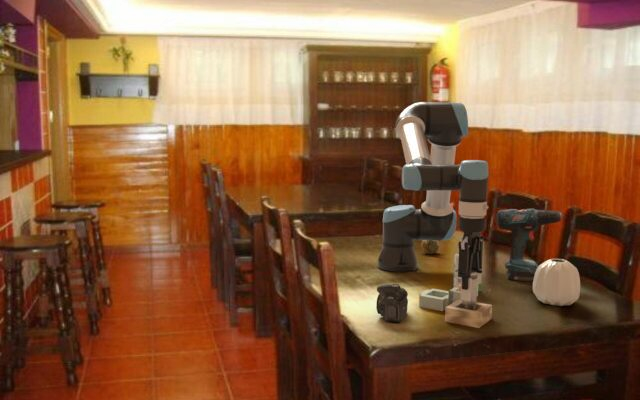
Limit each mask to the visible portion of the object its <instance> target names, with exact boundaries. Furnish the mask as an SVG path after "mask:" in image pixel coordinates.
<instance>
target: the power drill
mask: <svg viewBox="0 0 640 400" xmlns="http://www.w3.org/2000/svg"><path fill="white" fill-rule="evenodd" d="M564 217H566V216H565V215H564V214H562V212H560V211H558V210H547V209H535V208H526V209H525V208H523V209H520V210H519V209H517V208H509V209H500V210H497V213H496V225H497V226H498V227H497V228H498V229H500V230H505V231H510V232H511V233H512V240H511V245H510V254H509V255H510V256H509V261H507V262H505V263H504V267H505V269H506V272H505V275H506V278H507V280H509V281H511V280H513V281H527V282H529V281H531V282H533V280H534V276H535V272H536V270H537V268H538V266H539V265H538V263H537V262H535V260H532V259H526V258H524V254H525V250H526V245H527V243H528V241H529V240H530V241H531V240H534V239H535V237H534V232H536V231H538V229H539V226H545V225H546V226H547V225H550V224H556V223H559V222H561V221H562V219H563V218H564Z"/></svg>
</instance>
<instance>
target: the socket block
mask: <svg viewBox="0 0 640 400" xmlns="http://www.w3.org/2000/svg"><path fill="white" fill-rule="evenodd" d="M418 296H419V297H418V298H419V299H418V306H419V308H422V309H423V308H424V309H428V310H429V309H430V310H434V311H441V312H443V311H444V312H445V307H447V306H449V305H450V304H452V303H453V302H455V301H457V300H458V299H461V292H460V291H458V286H456V287H453V288H451V289H449V290H443V289H437V288H431V289H425V290H424V291H421V292H420V293H418Z"/></svg>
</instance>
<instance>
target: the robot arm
mask: <svg viewBox="0 0 640 400" xmlns="http://www.w3.org/2000/svg"><path fill="white" fill-rule="evenodd" d="M468 117H469V116H468V112H467V109H466V106H465V105H464V104H463V103H462V102H454V101H453V102H452V101H450V102H447V101H446V102H445V101H443V102H441V101H439V102H438V101H436V102H434V101H432V102H431V101H430V102H429V101H428V102H427V101H418V102H415V103H412V104H410V105H408V106H407V107H405V108H404V109H403V110H402V111H401V112H400V114H399V115H398V117H397V119H396V121H395V132H396V136H398V138H399V139H400V140H401V142H400V143H401V145H402V151H403V155H404V159H405V164H404V165H403V166H402V170H401V185H402V188H403V189H404V190H405V191H415V192H419V191H426V199H425V201H424V202H422V203H421V205H420V206H421V207H420V208H418V209H417V208H416V207H415V206H414V205H412V204H408V205H407V204H399V205H393V206H389V207H387V208H385V209H384V211H383V215H382V216H383V217H382V247H381V250H380V253H379V256H378V259H377V268H378V269H380V270H382V271H386V272H394V273H395V272H398V273H399V272H401V273H402V272H405V273H406V272H412V271H416V270H417V269H418V266H419V265H418V264H419V263H418V259H417V256H416V255H417V254H416V252H415V248H414V244H415V243H414V242H415V241H423V240H437V242H441V241H449V240H451V239H452V238H453V237H454V235H455V232H456V229H458V230H459V231H462V232H463V237H461V238H462V239H461V241H458V242H457V243H458V244H457V245H458V254H459V263H458V277H461V300H465V301H471V282H472V278H470V275H471V271H476V272H477V274H478V273H482V274H483V256H484V255H483V254H484V253H483V251H484V248H483V247H484V239H485V236H484V235H482V234H481V233H482V232H485V231H486V230H487V218H486V217H487V212H488V211H487V210H488V209H489V205H488V191H489V188H488V187H489V175H490V173H489V163H488V162H487V161H486V160H481V159H479V160H478V159H466V160H462V161H461V162H460V163H458V164H455V161H456V160H455V159H456V152H457V147H458V146H459V145H460V144H461V143H462V138H465V137H467V136H468V134H469V118H468ZM426 137H427V140H426ZM427 141H428V143H429V144H431V147H430V151H429V148H428V144H427ZM453 191H454V192H455V191H459V200H458V215H459V216H458V217H457V212H456V210H454V207H453V205H452V204H451V203H450V201H451V194H452V192H453ZM485 216H486V217H485ZM457 218H458V221H457ZM457 222H458V223H457ZM457 226H458V228H456V227H457ZM481 269H482V270H481ZM478 280H479V274H478V277H477V297H478V296H479V291H478Z"/></svg>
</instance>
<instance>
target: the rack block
mask: <svg viewBox="0 0 640 400" xmlns="http://www.w3.org/2000/svg"><path fill="white" fill-rule="evenodd" d="M492 318H493V305H492V304H489V303H482V302H478V301H476V311H473V310H468V309H463V308H462V300H461V299H458V300H457V301H455V302H453V303H452V304H450V305H449V306H447V307H445V310H444V322H446V323H452V324H457V325H461V326H467V327H470V328H476V329H480V328H481V327H483V326H484V325H485V324H487V323H488V322H489V321H490V320H492Z"/></svg>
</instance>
